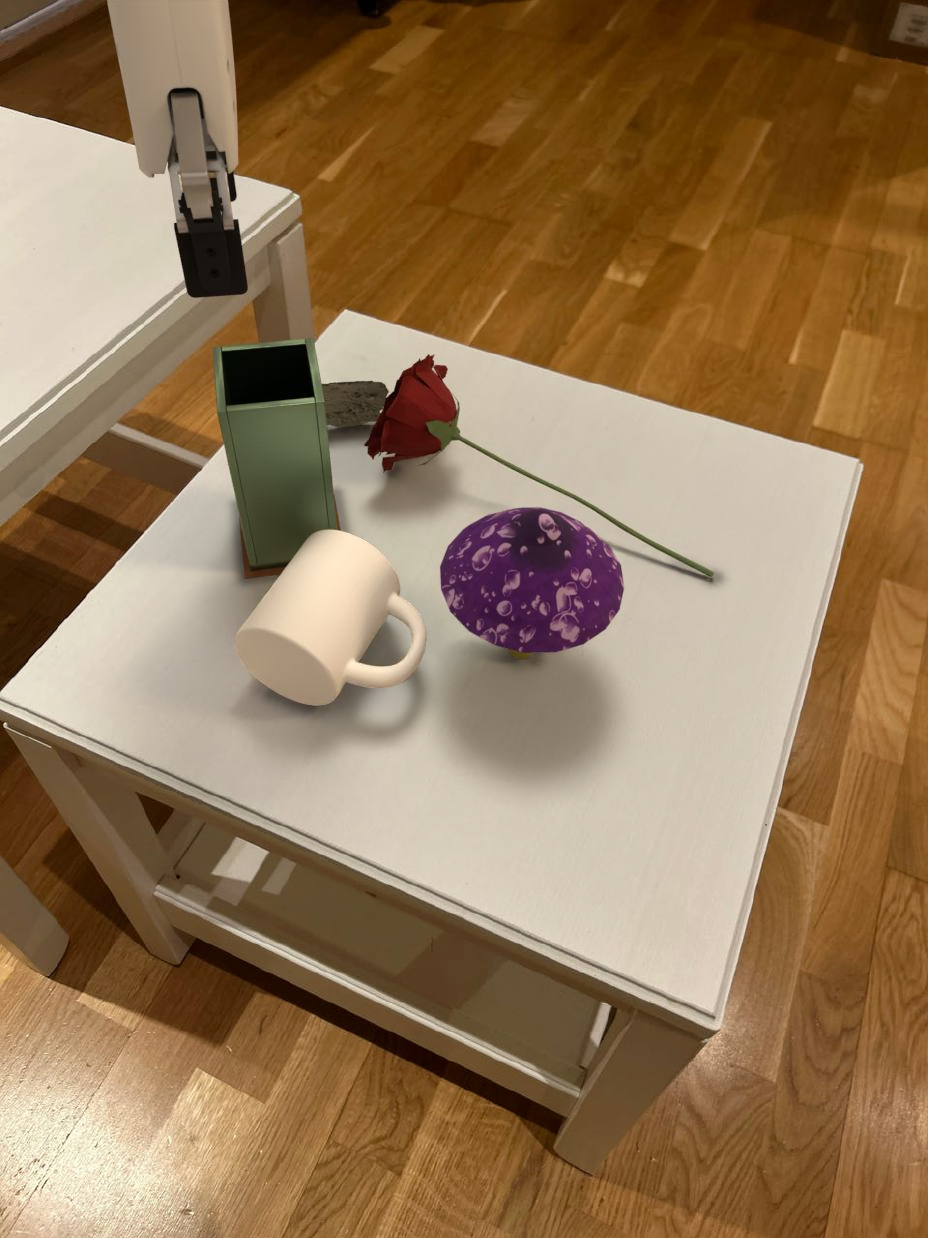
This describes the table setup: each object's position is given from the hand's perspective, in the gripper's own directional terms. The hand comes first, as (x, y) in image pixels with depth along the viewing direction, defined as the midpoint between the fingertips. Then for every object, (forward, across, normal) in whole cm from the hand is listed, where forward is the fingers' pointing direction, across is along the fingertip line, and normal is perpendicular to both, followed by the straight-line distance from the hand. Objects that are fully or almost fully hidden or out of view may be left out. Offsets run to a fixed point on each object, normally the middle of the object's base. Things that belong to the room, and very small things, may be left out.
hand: (214, 244), depth 53 cm
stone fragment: (+27, -14, +7) cm, 31 cm away
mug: (+27, +11, +5) cm, 30 cm away
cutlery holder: (+27, -2, +2) cm, 27 cm away
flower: (+27, -1, +23) cm, 35 cm away
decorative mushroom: (+27, +13, +18) cm, 35 cm away
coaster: (+27, -2, +2) cm, 27 cm away
